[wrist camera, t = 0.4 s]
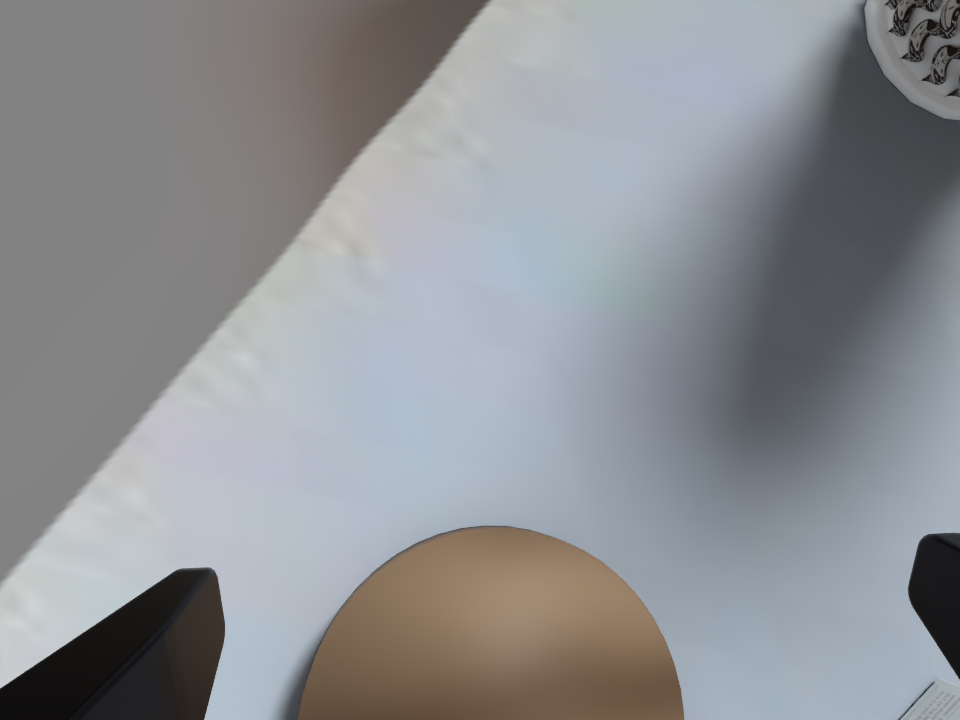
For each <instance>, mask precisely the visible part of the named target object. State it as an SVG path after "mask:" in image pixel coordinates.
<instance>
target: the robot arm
mask: <svg viewBox="0 0 960 720" xmlns="http://www.w3.org/2000/svg"><path fill="white" fill-rule="evenodd" d="M908 594H909V599H910V602H911V604H912V606H913V608H914V610H915V611H916V613H917V614H918V616H919V618H920V619H921V621H922V622H923V624H924V625H925V627H926V628H927V630H928V631H929V633H930V635H931V636H932V638H933V639H934V641H935V642H936V644H937V645H938V647H939V648H940V650H941V651H942V653H943V655H944V656H945V658H946V659H947V661H948V662H949V664H950V665H951V667H952V668H953V670H954V671H955V673H956V675H957V676H958V678H959V679H960V533H940V534H928V535H926V536H924V537H923V538H922V539H921V540H920V542H919V544H918V548H917V552H916V556H915V560H914V564H913V568H912V573H911V577H910V581H909V586H908ZM224 637H225V621H224V615H223V608H222V602H221V595H220V589H219V583H218V577H217V575H216V573H215V571H214V570H213V569H211V568H208V567H207V568H185V569H179V570H176V571H175V572H173V573H171V574H170V575H168V576H167V577H166V578H164V579H163V580H161V581H160V582H158V583H157V584H155V585H154V586H152V587H151V588H149V589H148V590H146V591H145V592H143V593H142V594H140V595H139V596H137V597H136V598H134V599H133V600H131V601H130V602H128V603H127V604H125V605H124V606H122V607H121V608H119V609H118V610H116V611H115V612H113V613H112V614H111V615H109V616H108V617H106V618H105V619H103V620H102V621H100V622H99V623H97V624H96V625H94V626H93V627H91V628H90V629H88V630H87V631H85V632H84V633H82V634H81V635H79V636H78V637H76V638H75V639H73V640H72V641H70V642H69V643H67V644H66V645H64V646H63V647H61V648H60V649H58V650H57V651H56V652H54V653H53V654H51V655H50V656H48V657H47V658H45V659H44V660H42V661H41V662H39V663H38V664H36V665H35V666H33V667H32V668H30V669H29V670H27V671H26V672H24V673H23V674H21V675H20V676H18V677H17V678H15V679H14V680H12V681H11V682H9V683H8V684H6V685H5V686H3V687H2V688H0V720H204V718H205V714H206V710H207V706H208V702H209V698H210V694H211V691H212V687H213V683H214V679H215V675H216V671H217V667H218V663H219V659H220V655H221V652H222V648H223V643H224Z"/></svg>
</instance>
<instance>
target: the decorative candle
mask: <svg viewBox="0 0 960 720" xmlns="http://www.w3.org/2000/svg"><path fill="white" fill-rule="evenodd" d="M864 12H865V21H866V30H867V39H868V44H869V46H870V48H871V50H872V52H873V54H874V56H875V58H876V60H877V62H878V64H879V66H880V68H881V70H882V72H883V74H884V76H885V77H886V78H887V79H888V80H889V81H890V82H891V83H892V84H893V85H894V86H895V87H896V88H897V89H898V90H899V91H900V92H901V93H902V94H903V95H904V96H905V97H906V98H907V99H908V100H909V101H910V102H911V103H913V104H915V105H917V106H919V107H921V108H923V109H925V110H927V111H929V112H931V113H933V114H935V115H937V116H939V117H941V118H942V119H950V120H960V0H867V2H866V5H865V8H864Z"/></svg>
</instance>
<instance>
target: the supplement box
mask: <svg viewBox="0 0 960 720" xmlns="http://www.w3.org/2000/svg"><path fill="white" fill-rule="evenodd" d="M901 720H960V686H957V685H955V684H952V683H949V682H947V681H945V680H943V679H938V680H937V681H936V682H935V683H934V684H933V685H932V686H931V687H930V688H929V689H928V690H927V691H926V692H925V693H924V695H923V696H922V697H921V698H920V699H919V700H918V701H917V702H916V703H915V704H914V705H913V706H912V707H911V708H910V709H909V711H908V712H907V713H906V714H905V715H904V716H903V717H902V718H901Z"/></svg>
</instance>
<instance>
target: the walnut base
mask: <svg viewBox="0 0 960 720" xmlns="http://www.w3.org/2000/svg"><path fill="white" fill-rule="evenodd" d="M297 720H684V711H683V703H682V696H681V689H680V685H679V681H678V677H677V673H676V669H675V665H674V662H673V659H672V657H671V654H670V652H669V649H668V646H667V644H666V641H665V639H664V637H663V635H662V633H661V631H660V630H659V628H658V626H657V624H656V622H655V620H654V618H653V617H652V615H651V614H650V612H649V611H648V609H647V608H646V607H645V605H644V604H643V602H642V601H641V599H640V598H639V597H638V596H637V595H636V593H635V592H634V591H633V590H632V589H631V588H630V587H629V586H628V585H627V584H626V582H625V581H624V580H623V579H622V578H621V577H619V576H618V575H617V574H616V573H615V572H613V571H612V570H611V569H610V568H609V567H608V566H606V565H605V564H604V563H602V562H601V561H599V560H598V559H596V558H595V557H593V556H592V555H590V554H588V553H587V552H585V551H584V550H581V549H579V548H577V547H575V546H573V545H571V544H569V543H566V542H564V541H562V540H559V539H556V538H554V537H551V536H548V535H544V534H541V533H538V532H535V531H531V530H527V529H521V528H515V527H509V526H477V527H468V528H461V529H457V530H453V531H449V532H445V533H441V534H438V535H435V536H433V537H430V538H428V539H425V540H423V541H420V542H418V543H416V544H414V545H412V546H411V547H409V548H407V549H405V550H403V551H402V552H400V553H398V554H396V555H395V556H394V557H392V558H391V559H389V560H388V561H387V562H385V563H384V564H383V565H381V566H380V567H379V568H377V569H376V570H375V571H374V572H373V573H372V574H371V575H370V576H369V577H368V578H367V579H366V580H365V581H363V582H362V583H361V584H360V585H359V586H358V587H357V589H356V590H355V591H354V592H353V593H352V595H351V596H350V597H349V598H348V600H347V601H346V602H345V603H344V604H343V606H342V607H341V609H340V610H339V612H338V613H337V615H336V616H335V618H334V620H333V621H332V623H331V624H330V626H329V628H328V629H327V631H326V633H325V636H324V638H323V640H322V642H321V644H320V646H319V648H318V650H317V652H316V655H315V658H314V661H313V664H312V667H311V670H310V673H309V676H308V679H307V682H306V685H305V688H304V691H303V694H302V699H301V704H300V709H299V714H298V719H297Z"/></svg>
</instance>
